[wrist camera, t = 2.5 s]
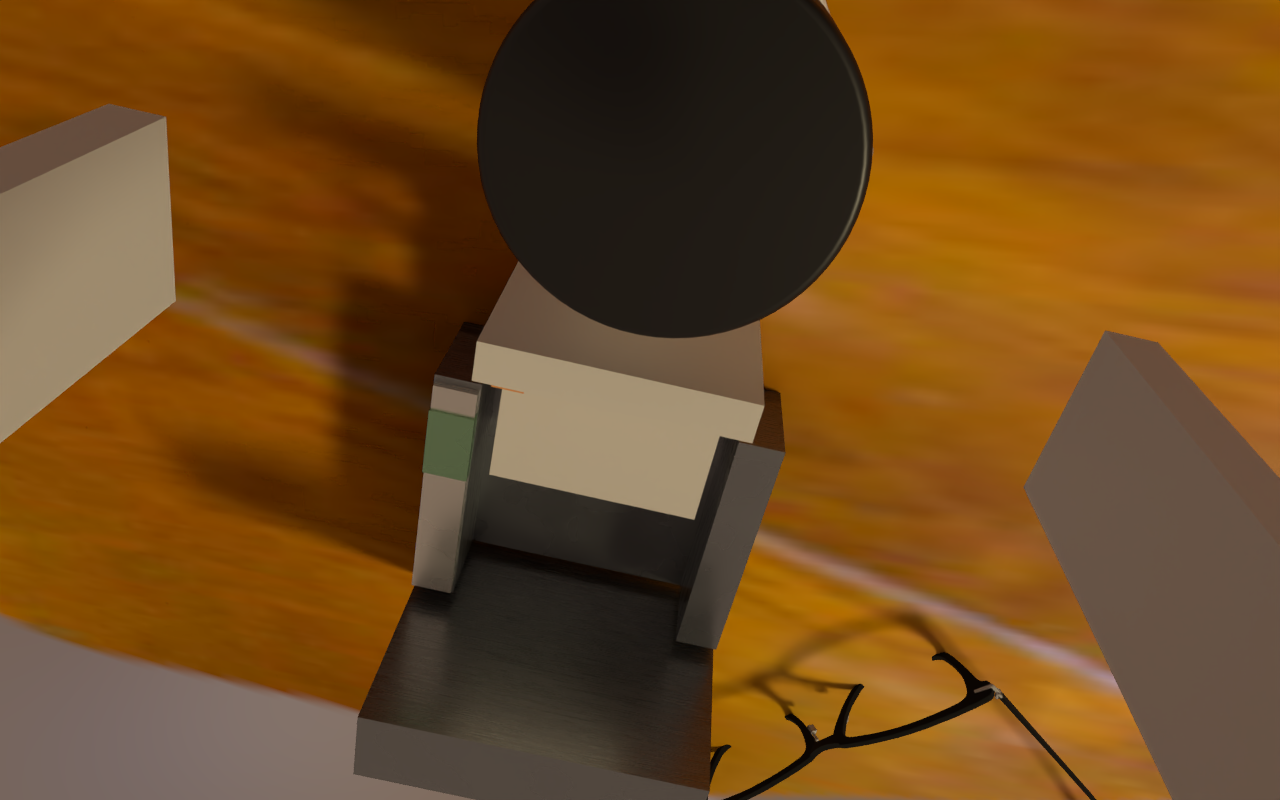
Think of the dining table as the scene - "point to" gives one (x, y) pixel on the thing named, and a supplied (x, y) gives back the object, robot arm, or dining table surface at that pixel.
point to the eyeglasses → (975, 697)
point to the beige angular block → (613, 401)
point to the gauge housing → (557, 621)
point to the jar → (675, 156)
